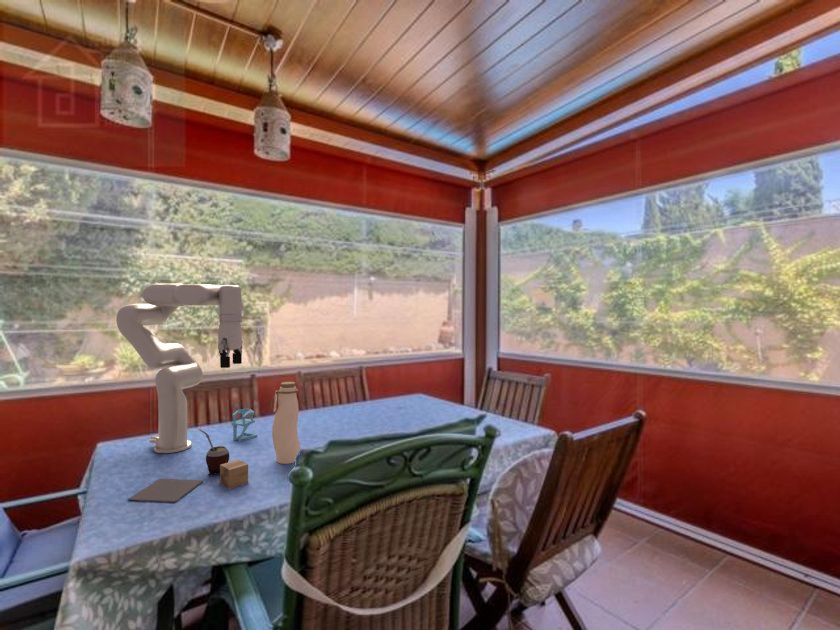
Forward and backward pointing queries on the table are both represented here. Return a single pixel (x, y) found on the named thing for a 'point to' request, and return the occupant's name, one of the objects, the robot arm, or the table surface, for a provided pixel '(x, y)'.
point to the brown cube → (233, 474)
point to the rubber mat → (166, 490)
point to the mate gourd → (216, 457)
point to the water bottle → (286, 423)
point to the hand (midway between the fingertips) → (231, 365)
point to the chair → (243, 424)
